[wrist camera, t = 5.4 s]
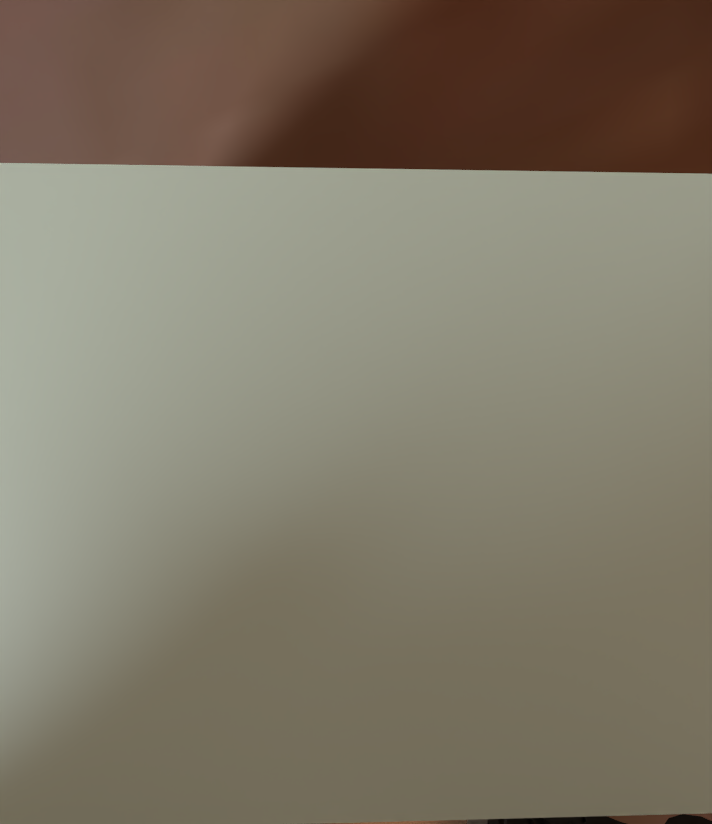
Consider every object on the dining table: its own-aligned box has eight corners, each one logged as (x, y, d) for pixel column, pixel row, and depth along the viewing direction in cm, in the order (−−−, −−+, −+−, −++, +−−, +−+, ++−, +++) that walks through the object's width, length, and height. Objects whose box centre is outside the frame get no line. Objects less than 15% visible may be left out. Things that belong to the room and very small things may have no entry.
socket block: (470, 417, 16) (844, 809, 4) (169, 418, 16) (-366, 841, 4) (481, 262, 15) (1064, 179, 3) (154, 259, 15) (-709, 151, 3)
